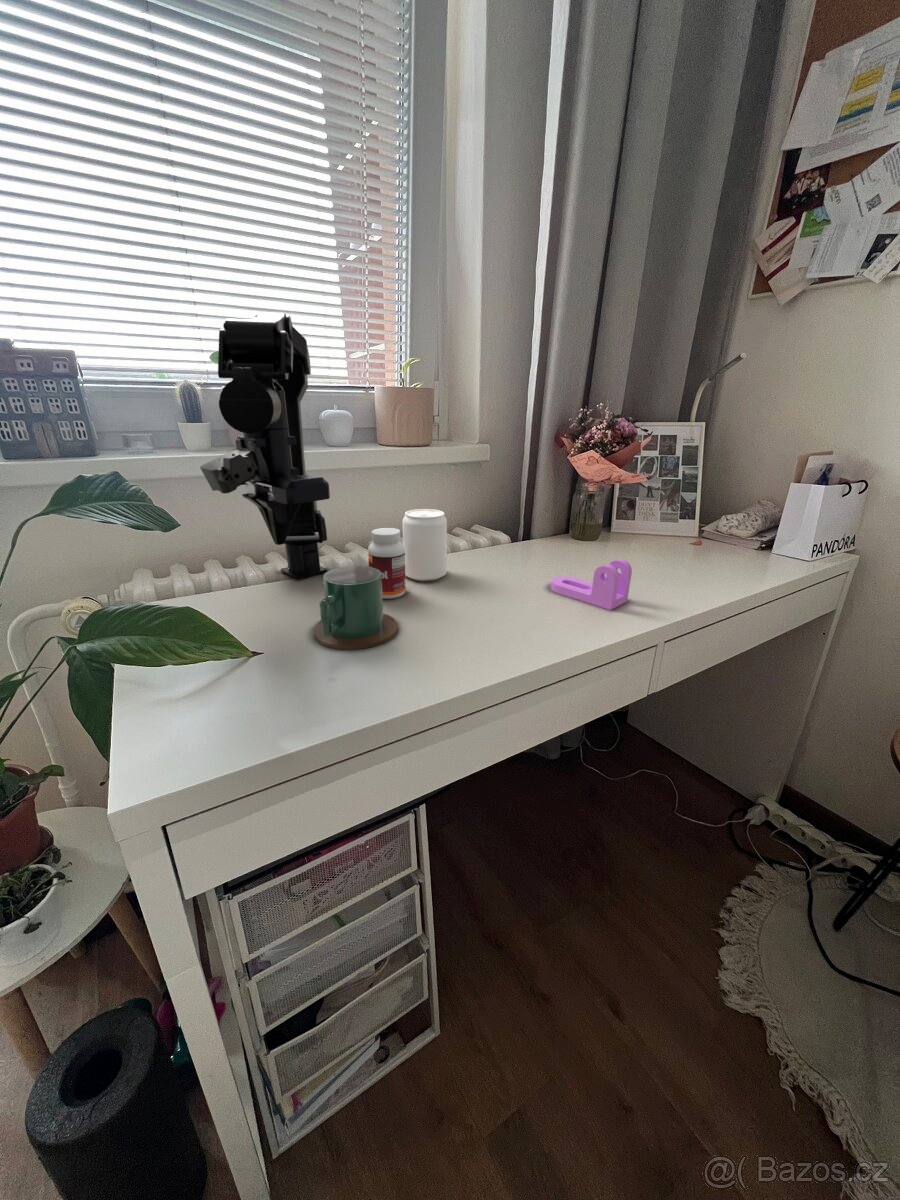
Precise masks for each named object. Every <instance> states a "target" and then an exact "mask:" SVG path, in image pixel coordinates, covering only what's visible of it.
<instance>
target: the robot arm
mask: <svg viewBox="0 0 900 1200" xmlns="http://www.w3.org/2000/svg"><path fill="white" fill-rule="evenodd" d="M254 317H255V318H253V319H252V318H251V319H250V318H249V319H248V318H226V319H224V322H223V324H222V327H223V328H219V331H218V356H217V357H218V358H217V376H218V379H232V380H231V381H229V382H228V383H226V384H225V385H224V387H223V388H222V389H221V392H220V395H219V400H218V408H219V411H220V414H221V416H222V418H223V420H224V421H225V423H227V424H228V425H229V426H230V427H231V428H232V429H234V430H236V431H237V432H239V433H242V435H241V436H240V435H239V436H236V439H235V446H236V447H235V449H234V450H232V451H230V452H227V453H225V454H222V455H220V456H218V457H215V458H214V459H212V460H210V461H207V462H205V463H204V464H202V465H200V466H199V468H200V470H201V472H202V474H203V476H204V478H205V480H206V481H207V483H208V485H209V487H210V489H211V490H212V491H214V492H216V491H218V492H220V493H221V494H225V495H226V494H229V493H232V492H235V491H236V490H237V488H238V487H241V486H245V487H246V493H242V494H241V496H242V497H243V498H244V499H245V500H248V501H249V502H251V503H252V504H253V505H254V506H256V507H257V509H258V510H259V512H260V514H261V516H262V519H263V520H264V524H265V526H266V528H267V529H268V531H269V534H270V536H271V539H272V541H273V543H274V544H275V545H277V546H280V545H284V546H285V547H284V548H285V556H286V564H287V563H288V565H287V566H286V567H283V568H280V572H281V573H283V574H285V575H288V576H290V577H292V578H294V579H298V580H301V579H304V578H308V577H311V576H315V575H319V574H322V573H326V572H328V568H326V567H325V566H321V563H320V561H321V560H320V552H319V545H318V543H319V544H323V543H324V542H326V541H328V532H327V525H326V519H325V517H324V516H323V514H322V513H321V510H320V509H318V505H317V504H318V503H317V502H319V501H325V500H329V499H331V496H330V495H331V494H330V493H331V492H330V483H329V482H328V481H327V480H326V479H325V478H324V477H323V476H319V475H318V476H317V475H314V474H308V473H307V474H306V461H305V446H304V437H303V421H302V410H301V402H302V400H303V397H304V396H305V394H306V392H307V389H309V381H308V380H309V379H308V378H309V377H308V376H312V375H311V374H312V373H311V372H312V371H311V369H312V368H311V358H310V353H309V352H310V351H309V347H308V343H307V339H306V338H305V337H304V336H303V335H302V333H300V332H299V331H298V330H297V329H296V328H295V327H294V326H293V322H292V318H291V315H289V314H286V313H285V312H265V311H263V312H262V311H261V312H260V313H256V314H255V316H254ZM288 568H289V569H288Z"/></svg>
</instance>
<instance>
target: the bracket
mask: <svg viewBox="0 0 900 1200" xmlns="http://www.w3.org/2000/svg"><path fill="white" fill-rule="evenodd" d="M619 570H620V572H619ZM632 574H633V568H632V565H631V563H630V562H629V561H627V559H623V558H618V559H616V560H613V561H611V562H609V563H606V564H603V565H600V566H598V567H597V568H596V569H595V570H594V573H593V577H592V582H590V581H587V580H583V579H580V578H576V577H572V576H556V577H553V578H551V580H550V582H551V583H550V590H551V591H552V592H554V593H556V594H559V595H562V596H566V597H569V598H572V599H574V600H578V601H581V602H584V603H588V604H590V605H593V606H597V607H600V608H603V609H607V610H609V611H611V610H613V609H615V608H617V607H620V606H622V605H624V604H625V603H627V602H628V600H629V593H630V586H631V580H632Z"/></svg>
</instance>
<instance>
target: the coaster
mask: <svg viewBox="0 0 900 1200" xmlns="http://www.w3.org/2000/svg"><path fill="white" fill-rule="evenodd" d="M383 619H384V627H383V629H382V630H381V631H380V632H378V633H377V634H375V635H372V636H369V637H365V638H359V639H345V638H339V637H336V636H334V635H330V636H329V637H325V636H324V635H323V634H322V624H321V620H319V621H318V622H317V623H316V624H315V626H314V627H313V637H314V639H315V641H316V642H318V643H319V644H321V645H322V646H325V647H328V648H332V649H338V650H349V651H350V650H351V651H352V650H363V649H369V648H373V647H377V646H380V645H383V644H385V643H388V642H389V641H391V640H392V639H393V638H394V637H395V636H396V634H397V633H398V630H399V629H398V627H399V626H398V622H397V620H396V619H395V618H394V617H392V616H391V615H389V614H386V613H384V612H383Z"/></svg>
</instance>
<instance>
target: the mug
mask: <svg viewBox="0 0 900 1200" xmlns="http://www.w3.org/2000/svg"><path fill="white" fill-rule="evenodd" d="M322 578H323V590H324V598H323V599H321V601H319V613H320V621H321V624H322V634H323V635H324V636H325V637H329V636H330V635H334V636H336V637H339V638H345V639H359V638H365V637H369V636H372V635H375V634H377V633H378V632H380V631H381V630H382V629H383V627H384V619H383V613H384V598H383V595H382V573H381V572H380V571H379V570H378V569H375V568H372V567H369V566H366V565H348V566H347V565H346V566H340V567H335V568H332V569H330V570H327V571H326V572H324V574H323V576H322Z"/></svg>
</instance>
